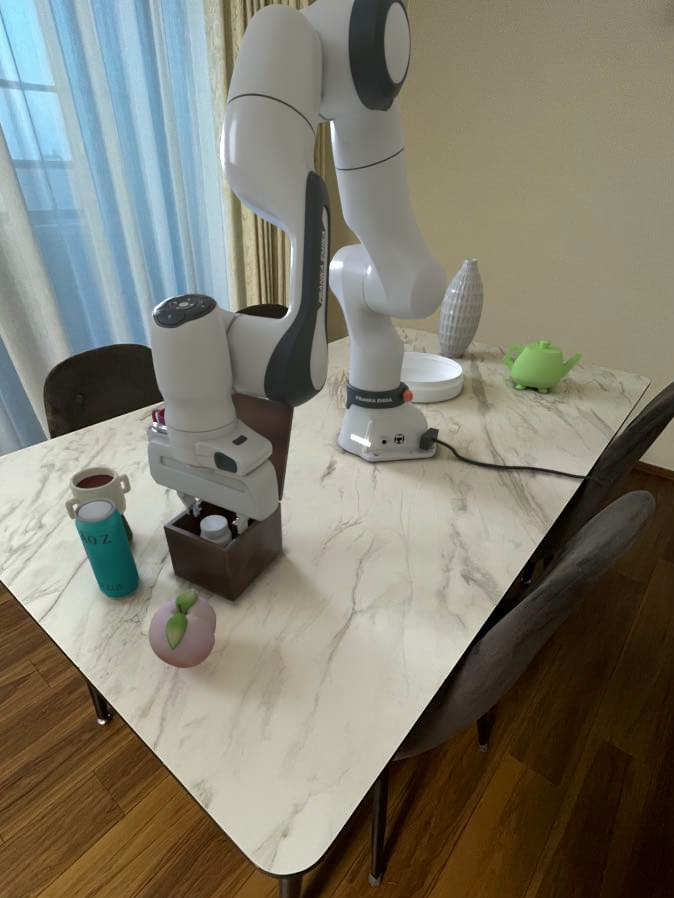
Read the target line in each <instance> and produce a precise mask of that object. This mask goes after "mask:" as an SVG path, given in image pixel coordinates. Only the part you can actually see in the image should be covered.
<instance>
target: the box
mask: <svg viewBox="0 0 674 898" xmlns="http://www.w3.org/2000/svg"><path fill="white" fill-rule="evenodd" d="M196 501H197V502H200V503H201V508H202V512H201V514H200V515H198V516H197V517H194V516H191V515H188V514H187V511H186V509H184V510H183V511H181V512H180V513H179V514H177V515H176V516H175V517H173V518H172V519H170V520H169V521H168V522H166V523H165V524H164V525H163V526H162V527H163V530H164V531H163V532H164V535H165V539H166V543H167V547H168V548H167V549H168V552H169V557H170V560H171V565H172V569H173V573H174V576H176V577H177V578H179V579H183V580H185V581H187V582H189V583H191V584H193V585H195V586H198V587H200V588H202V589H205V590H206V591H209V592H210V593H212V594H215V595H217V596H220V597H222V598H224V599H226V600H229V601H231V602H233V603H234V602H235V601H237V599H239V597H240V596H241V595H242V594H243V593H244V592H245V591H246V590H247V589H248V588H249V587H250V586H251V585H252V584H253V583H254V581H255V580H257V578H259V576H260V575H261V574H263V572H264V571H265V570H266V569H267V568H268V567H269V566H270V565H271V564H272V563H273V562H274V561H275V559H277V557H278V556H279V555H281V554H282V552H283V527H282V523H283V522H282V503H281V502H279V503H278V507H277V508H276V510H275V511H274V512H273V513H272V514H271V515H270V516H269V517H267V518H266V519H265V520H263V521H258V520H255V519H253V518H249V519H248V520H247V522H248V528H247V529H246V530H245V531H244V532H243V533H242V534H238V533H235V532H233V527H232V523H233V522H234V521H236V519H237V518H239V517H237V516H236V512H233V511H231V510H228V509H225V508H223V507H220V506H217V505H214V504H212V503H209V502H206V501H203V500H201V499H197V500H196ZM212 515H220V516H223V517H225V518H226V520H227V523H228V528H229V530H230V531H231V534H232V543H230V544H229V545H228V546H227V547H224V546H222V545H219V544H217V543H215V542H212V541H210V540H207V539H205V538H202V537H200V534H201V526H200V523H201V521H202V520H203V519H204V518H206V517H208V516H212Z"/></svg>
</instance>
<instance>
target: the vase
mask: <svg viewBox="0 0 674 898" xmlns="http://www.w3.org/2000/svg"><path fill="white" fill-rule="evenodd" d="M483 305H484V285H483V280H482V277H481V274H480V270H479V267H478V260H477V259H476V258H465V259H464V260H463V263H462V266H461V267H460V268H459V270H458V271H456V273H455V275H454V276H453V278H452V279H451V281H450V283H449V284H448V287H446V292H445V296H444V298H443V301H442V303H441V308H440V313H439V318H438V319H439V320H438V341H439V346H440V350H441V352H442V355H443V357H446V358H449V359H450V358H452V359H458V358H462V355H464V354H465V352H466V351H467V350H468V348H469V347H470V345H471V344H472V342H473V339H474V337H475V336H476V334H477V330H478V328H479V324H480V321H481V317H482V312H483Z"/></svg>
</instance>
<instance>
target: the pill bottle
mask: <svg viewBox="0 0 674 898" xmlns="http://www.w3.org/2000/svg"><path fill="white" fill-rule="evenodd" d="M200 526H201V534H200V537H202V538H205V539H207V540H210V541H212V542H215V543H217V544H219V545H222V546H224V547H227V546H228V545H229V544H230V543H232V534H231V531H230V530H229V528H228V523H227V520H226V518H225V517H223V516H220V515H212V516H208V517H206V518H204V519H203V520H202V521H201V523H200Z"/></svg>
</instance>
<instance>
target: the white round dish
mask: <svg viewBox="0 0 674 898" xmlns="http://www.w3.org/2000/svg"><path fill="white" fill-rule="evenodd" d="M403 381H404V382H405V384H406V385H407V386H408V387H409V390H410V391H412V394H413V400H411V401H410V402H411V403H421V404H422V403H423V404H424V403H425V404H427V403H429V404H430V403H438V402H444V401H448V400H451V399H453V398H456V397H457V396H458V395H459V394H460V393H461V391H462V388H463V383H464V374H463V368H462V366H461V365H460V364H459V363H458V362H457V361H455V360H453V359H450V358H449V357H446V356H442V355H438V354H433V353H429V352H428V353H427V352H417V351H404V359H403V366H402V374H401V382H403Z"/></svg>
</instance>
